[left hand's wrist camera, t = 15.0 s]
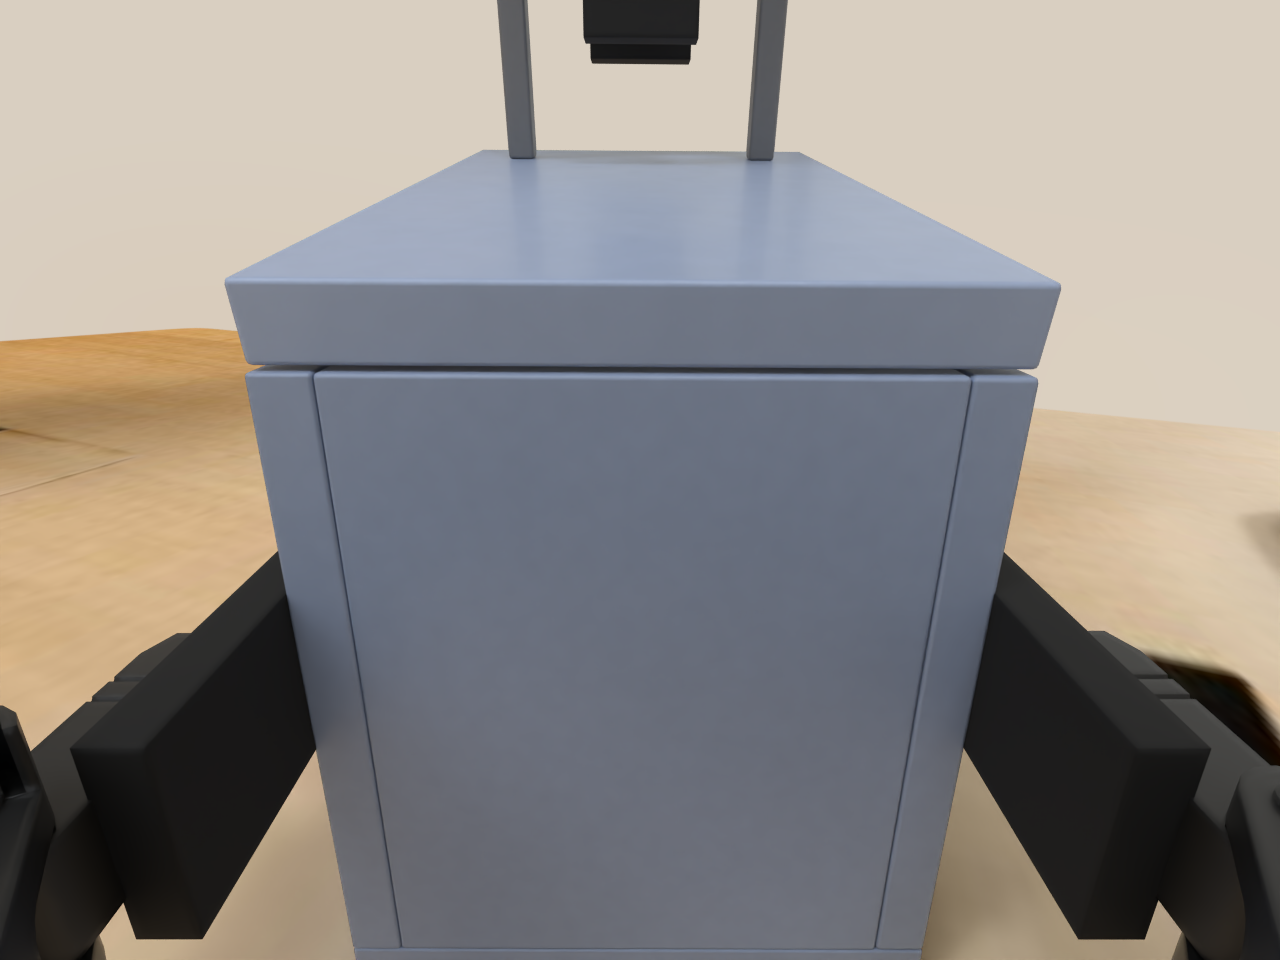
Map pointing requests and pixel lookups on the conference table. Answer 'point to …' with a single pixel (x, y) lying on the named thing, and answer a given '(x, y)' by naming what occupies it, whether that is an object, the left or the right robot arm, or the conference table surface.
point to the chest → (639, 646)
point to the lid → (642, 261)
